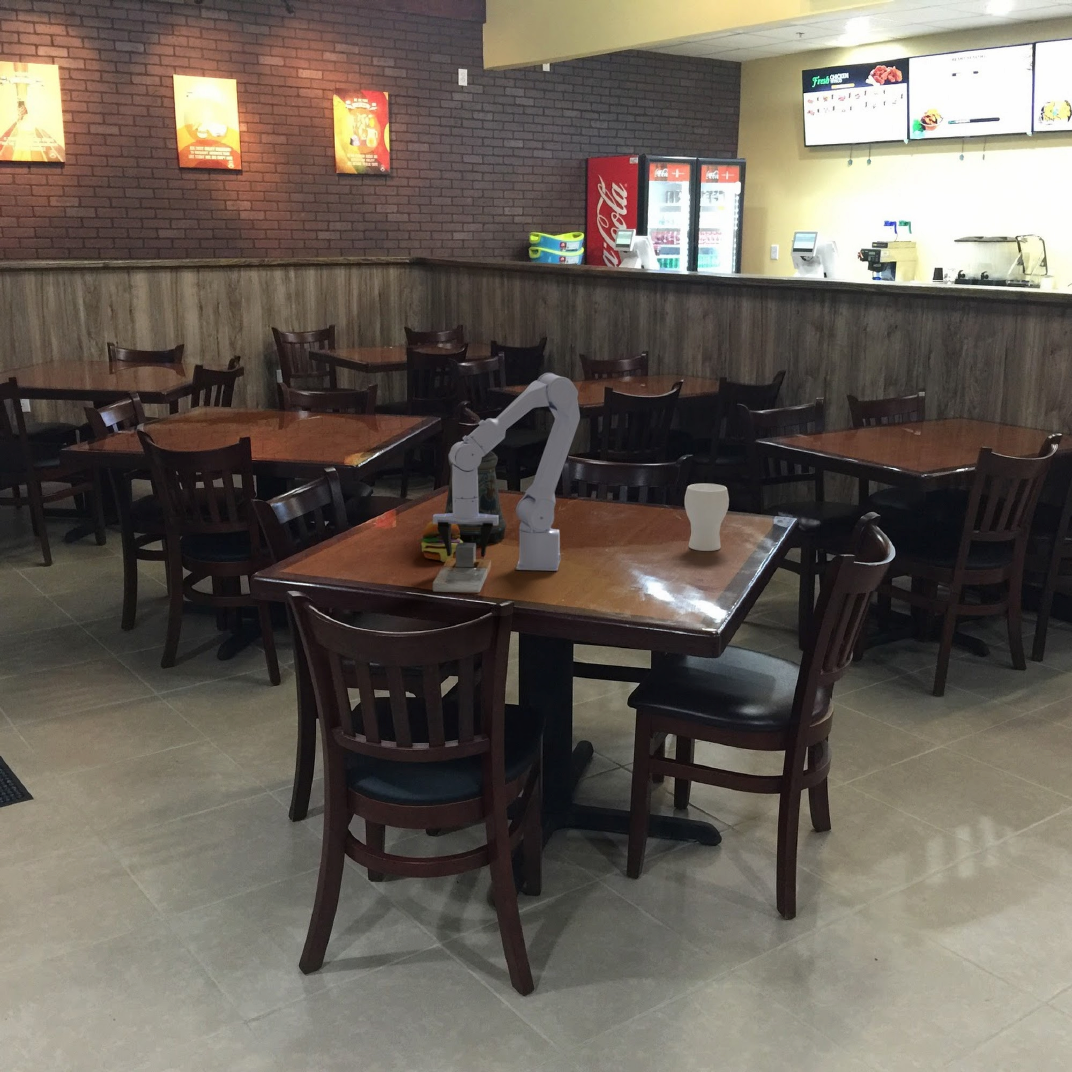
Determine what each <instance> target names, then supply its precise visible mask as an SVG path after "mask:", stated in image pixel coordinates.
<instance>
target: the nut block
mask: <svg viewBox="0 0 1072 1072" xmlns="http://www.w3.org/2000/svg"><path fill="white" fill-rule="evenodd" d="M455 551H456V568H476V559H477V545H476V543H458V544H457V545H456V547H455Z"/></svg>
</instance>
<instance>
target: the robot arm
mask: <svg viewBox="0 0 1072 1072" xmlns="http://www.w3.org/2000/svg"><path fill="white" fill-rule="evenodd" d="M578 396H579V391H578V388H577V387H576V386H575V384H574V383H573V381H572V380H571V379H570V378H569V377H568V378H567V377H565V376H560V375H557V374H555V373H553V372H545V373H543V374H542V375H540V376H538V378H537V380H534V381H532V382H530V384H529V385H528V386H527V388H525V390H524V391H522V393H521V394H519V395H518V397H516V398H515V399H514V400H513V401H512V402H511V403H510V404H509V405H508V406H507V407H506V408H505V409H504V410H502V412H501V413H499V415H498V416H496V418H491V417H490V418H486V419H485V420H484V419H481V420H480V421H479V422H478V423H477V425H479V426H477V427H476V428H475V429H474V430H473V431H472V432H470V434H468V435H464V436H463V437H462V441H458V442H456V443H454V444H453V445H452V446H451V448H450V450H449V453H448V458H449V460H450V462H451V463H452V464H453V465H452V472H453V475H452V496H453V513H448V514H445V513H434V514H433V516H432V521H433V524H438V527H437V529H438V531H439V533H440V535H441V537H442V539H443V541H444V544H445V547H446V551H447V556H451V554H452V545H451V524H483V525H482V526H481V542H482V544H481V545H480V546H481V549H480V557H481V558H482V557H483V558H484V557H486V553H487V552H486V551H487V546H488V544H487V542H488V539H489V536H490V533H491V531H492V529H493V526H494V525H498V523H499V518H498V515H488V514H479V513H478V474H477V467H479V465H480V463H481V459H482V457H483V456H485V455H486V454H487V453H488V452H489V451H490V450H491V451H492V450H493V449H494V448H495V447H496V446H497V445H498V444H500V443H501V442H502V441H503V440H505V438H506V432H507V431H506V430H507V429H508V428H510V427H511V426H513V424H515V423H516V422H517V421H519V420H520V419H521V418H522V417H524V415H526V414H527V413H529V412H530V411H531V410H532V409H535V408H541V407H548V408H549V410H550V412H551V413H552V416H553V417H554V422H553V424H552V427H551V430H550V432H549V436H548V439H547V441H546V445H545V447H544V449H543V453H542V456H541V459H540V462H539V465H538V468H537V470H536V473H535V476H534V479H533V482H532V484H531V485H530V486H529V487H528V488H527V489H526V491H525V493H524V495H523V497H522V498H521V499H520V500H519V501H518V503H517V505H516V509H515V513H516V516H517V518H518V519H519V520H520V524H519V528H518V529H519V531H518V532H519V533H518V534H519V537H518V540H519V541H518V543H519V545H518V546H519V550H518V552H519V553H518V554H519V557H518V562H517V565H516V567H515V570H516V571H517V570H519V571H549V572H550V571H552V572H553V571H554V572H555V571H556V572H557V571H558V570H559V567H560V566H559V565H560V563H561V555H562V554H561V553H560V552H561V551H560V550H561V547H560V546H561V539H560V538H561V534H560V532H561V531H560V529H556V528H552V525H553V524H554V521H555V507H556V494H555V492H556V488H557V486H558V482H559V480H560V477H561V474H562V471H563V469H564V465H565V463H566V460H567V457H568V454H569V451H570V448H571V445H572V443H573V441H574V437H575V434H576V431H577V429H578V426H579V423H580V419H581V413H580V407H579V402H578ZM463 440H464V442H463Z"/></svg>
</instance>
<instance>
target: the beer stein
mask: <svg viewBox="0 0 1072 1072" xmlns="http://www.w3.org/2000/svg"><path fill="white" fill-rule="evenodd" d="M462 441H463V442H464V440H463V439H462ZM498 459H499V458H498V456H497V454H495V452H494V451H492V450H490V451H489V452H488V453H487V454H486V455H485V456H483V457H482V459H481V463H480V465H479V467H477V474H478V513H479V514H488V515H498V518H499V523H498V525H494V526H493V529H492V531H491V533H490V536H489V539H488V542H487V545H490V544H491V545H492V544H496V543H499V542H500V541H503V540H504V539H505V533H506V528H507V522H506V520H505V518H504V515H503V512H502V507H501V502H500V495H499V488H498V483H497V482H498V481H497V475H496V466H497V463H498ZM447 461H448V465H449V467H450V476H449V483H448V490H447V499H446V504H445V510H444V514H448V513H453V496H452V475H453V472H452V465H453V464H452V463H451V462H450V460H449V457H448V458H447ZM457 525H458V528H459V530H460V534H458V535H460V539H461V540H462V541H463V543H476V546H481V544H482V542H481V526H482V525H483V524H457Z"/></svg>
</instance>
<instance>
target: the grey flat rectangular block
mask: <svg viewBox="0 0 1072 1072" xmlns="http://www.w3.org/2000/svg"><path fill="white" fill-rule="evenodd" d="M491 568H492V559H491V558H476V568H456V558H448V559H447V560H446V562H444V563H443V566H442V567H441V569H440V570H439V572H438V574H437V575H436V577H435V579H433V582H432V592H441V593H442V592H443V593H444V592H445V593H448V592H449V593H475V594H476V593H480V592H481V591H482V588H483V586H484V584H485V581H486V579H487V576H488V575H489V572H490V570H491Z"/></svg>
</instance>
